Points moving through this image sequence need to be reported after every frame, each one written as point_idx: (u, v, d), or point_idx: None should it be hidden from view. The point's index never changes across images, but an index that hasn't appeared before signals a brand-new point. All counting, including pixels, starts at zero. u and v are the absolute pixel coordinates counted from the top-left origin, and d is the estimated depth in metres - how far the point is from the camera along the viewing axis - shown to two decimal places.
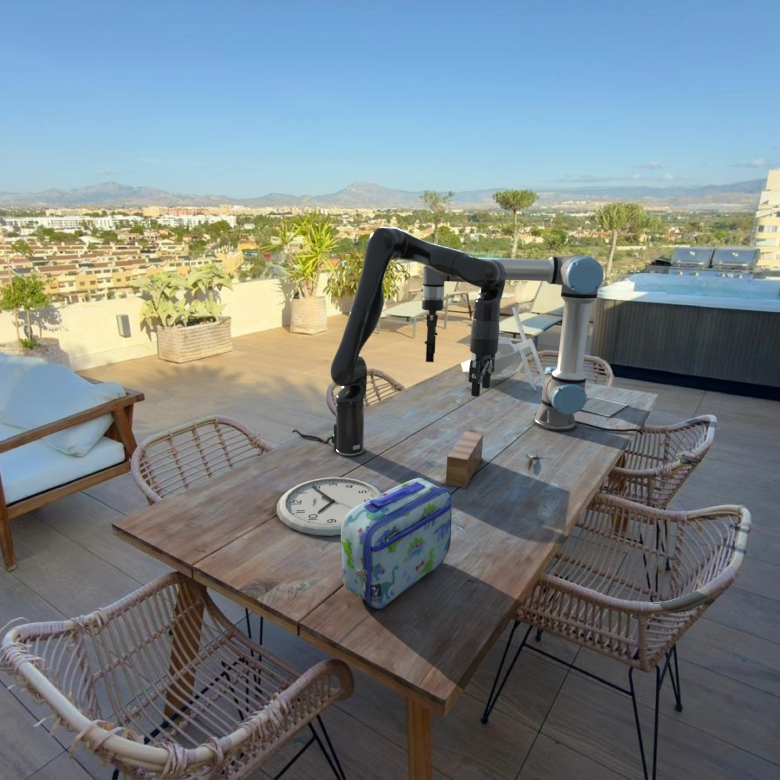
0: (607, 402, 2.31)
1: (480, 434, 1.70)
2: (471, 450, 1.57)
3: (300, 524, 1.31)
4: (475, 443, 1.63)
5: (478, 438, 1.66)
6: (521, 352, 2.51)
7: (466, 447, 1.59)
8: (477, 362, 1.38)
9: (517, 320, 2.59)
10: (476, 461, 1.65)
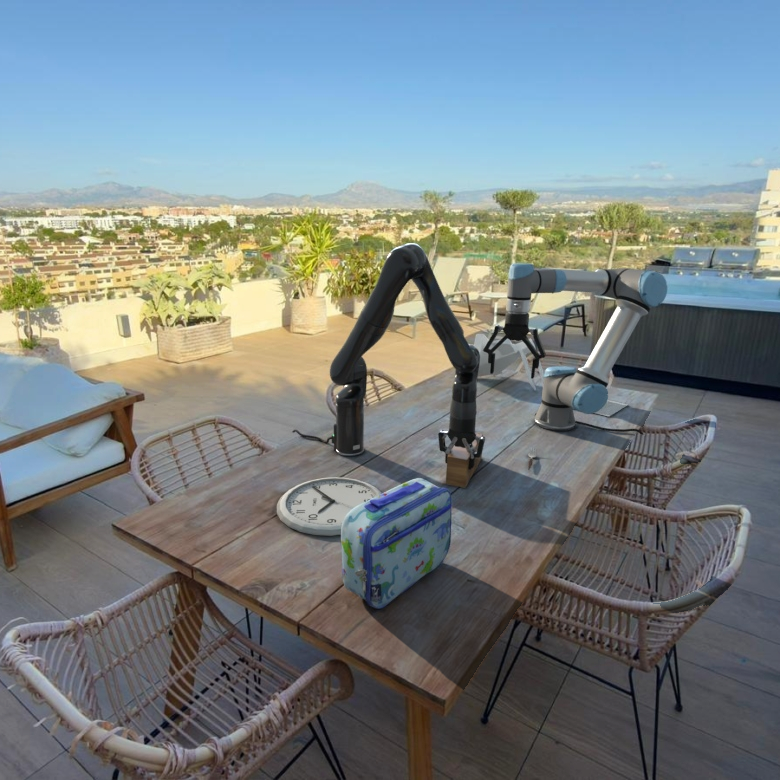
0: (607, 402, 2.31)
1: (480, 434, 1.70)
2: None
3: (300, 524, 1.31)
4: (475, 443, 1.63)
5: None
6: (521, 352, 2.51)
7: None
8: (484, 438, 1.52)
9: None
10: (476, 461, 1.65)
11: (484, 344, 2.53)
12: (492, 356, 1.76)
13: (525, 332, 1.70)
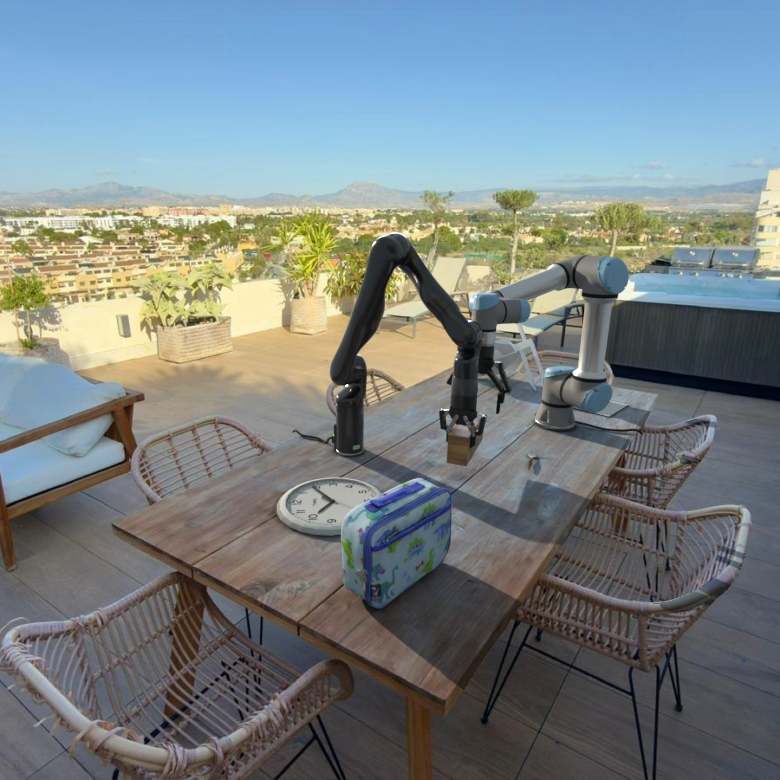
0: None
1: (481, 414, 1.68)
2: None
3: (300, 524, 1.31)
4: (476, 422, 1.60)
5: None
6: (521, 352, 2.51)
7: None
8: (486, 416, 1.50)
9: None
10: (477, 441, 1.63)
11: None
12: None
13: (490, 365, 1.60)
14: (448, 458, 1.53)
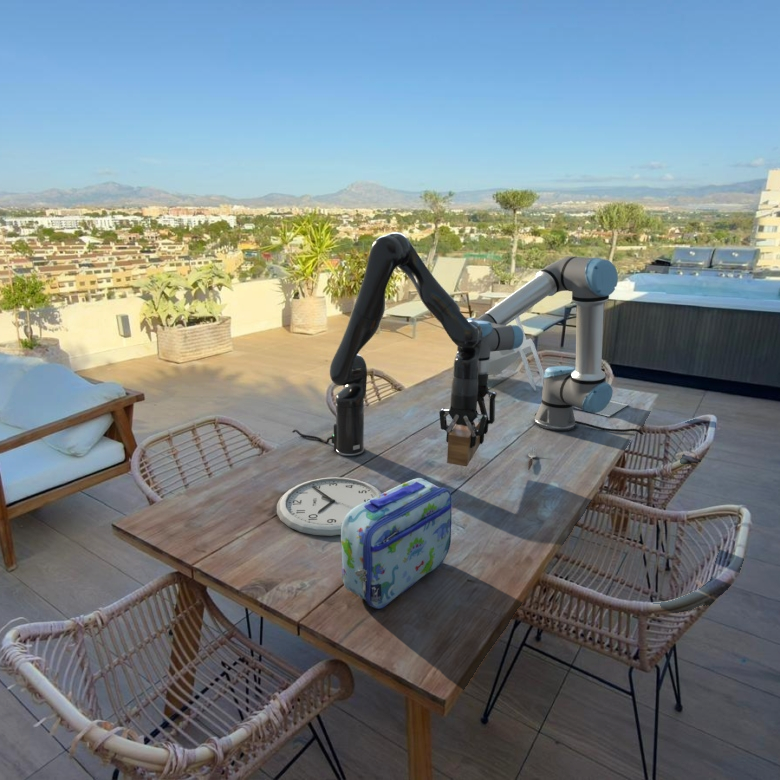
0: None
1: None
2: None
3: (300, 524, 1.31)
4: (477, 422, 1.60)
5: None
6: (521, 352, 2.51)
7: None
8: (486, 416, 1.50)
9: (517, 320, 2.59)
10: (478, 441, 1.63)
11: None
12: None
13: (484, 392, 1.61)
14: (448, 458, 1.53)
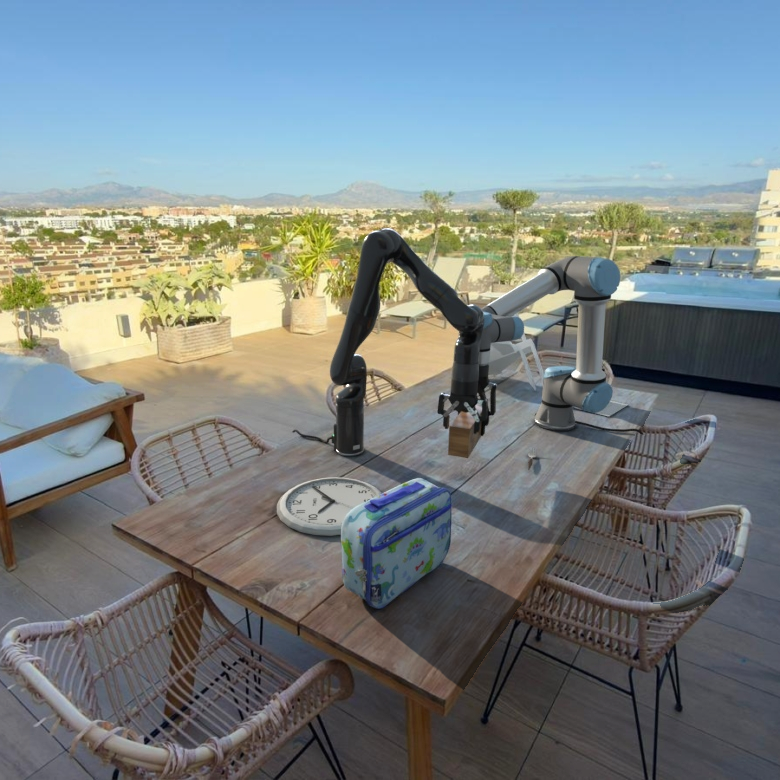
0: None
1: None
2: (474, 420, 1.55)
3: (300, 524, 1.31)
4: None
5: (480, 409, 1.64)
6: (521, 352, 2.51)
7: (469, 418, 1.56)
8: (487, 399, 1.47)
9: None
10: (479, 433, 1.62)
11: None
12: None
13: (485, 384, 1.60)
14: (449, 450, 1.52)
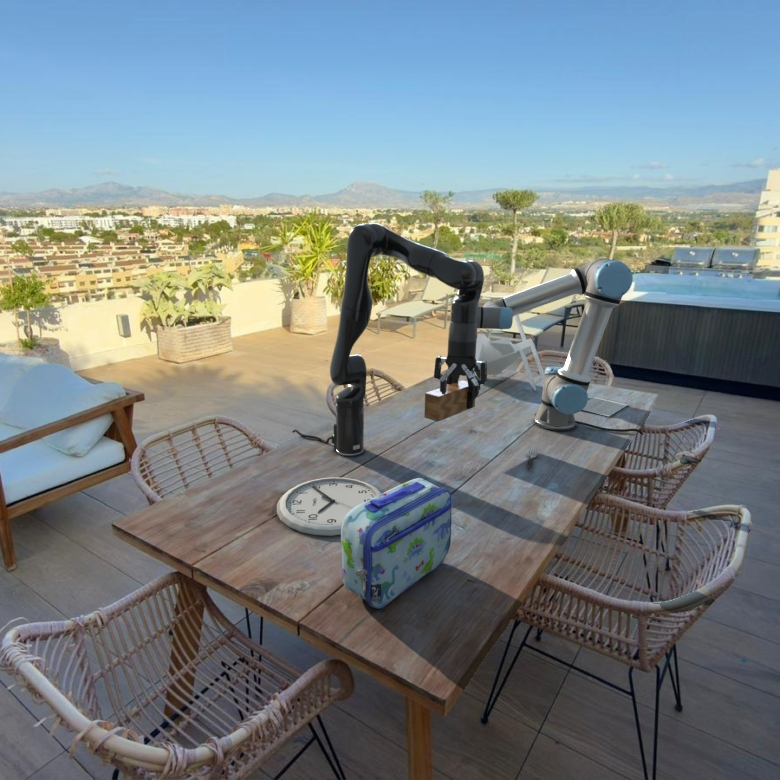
0: (607, 402, 2.31)
1: None
2: (450, 391, 1.81)
3: (300, 524, 1.31)
4: (460, 388, 1.85)
5: (467, 385, 1.88)
6: (521, 352, 2.51)
7: (448, 389, 1.83)
8: (486, 362, 1.39)
9: (517, 320, 2.59)
10: (462, 405, 1.87)
11: (484, 344, 2.53)
12: None
13: None
14: (425, 413, 1.82)
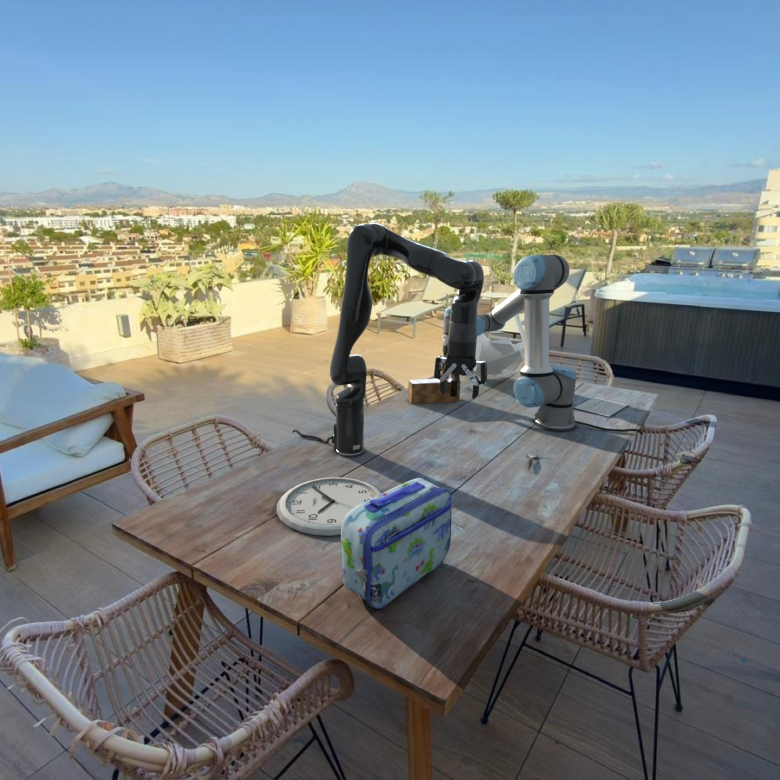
0: (607, 402, 2.31)
1: None
2: (427, 382, 2.25)
3: (300, 524, 1.31)
4: None
5: (450, 381, 2.27)
6: (521, 352, 2.51)
7: (429, 381, 2.27)
8: (486, 362, 1.39)
9: (517, 320, 2.59)
10: (442, 396, 2.28)
11: (484, 344, 2.53)
12: None
13: None
14: (408, 396, 2.31)
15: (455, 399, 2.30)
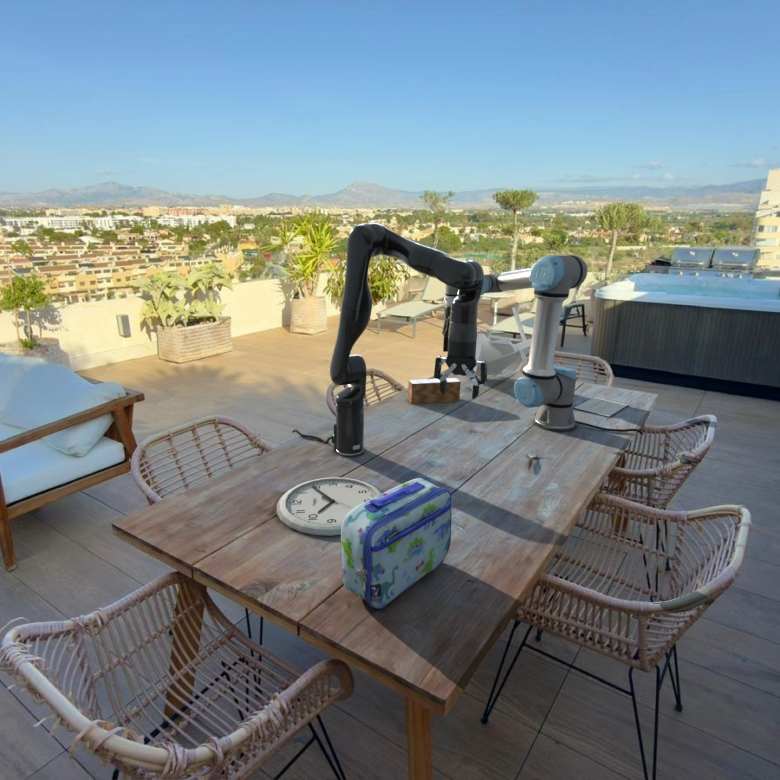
0: (607, 402, 2.31)
1: (457, 381, 2.28)
2: (427, 382, 2.25)
3: (300, 524, 1.31)
4: None
5: (450, 381, 2.27)
6: (521, 352, 2.51)
7: (429, 381, 2.27)
8: (486, 362, 1.39)
9: (517, 320, 2.59)
10: (442, 396, 2.28)
11: (484, 344, 2.53)
12: None
13: None
14: (408, 396, 2.31)
15: (455, 399, 2.30)
